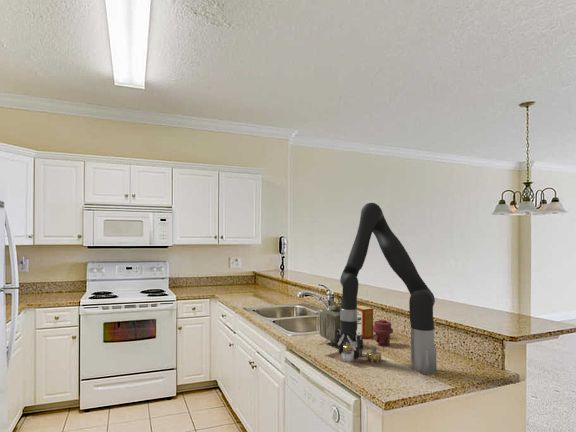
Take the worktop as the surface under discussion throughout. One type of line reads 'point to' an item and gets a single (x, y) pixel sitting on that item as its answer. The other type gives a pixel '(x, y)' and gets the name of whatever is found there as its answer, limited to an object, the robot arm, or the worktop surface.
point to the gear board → (359, 362)
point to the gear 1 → (348, 347)
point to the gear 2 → (374, 357)
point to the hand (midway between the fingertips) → (348, 356)
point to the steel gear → (348, 356)
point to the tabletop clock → (330, 321)
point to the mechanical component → (382, 332)
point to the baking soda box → (365, 322)
